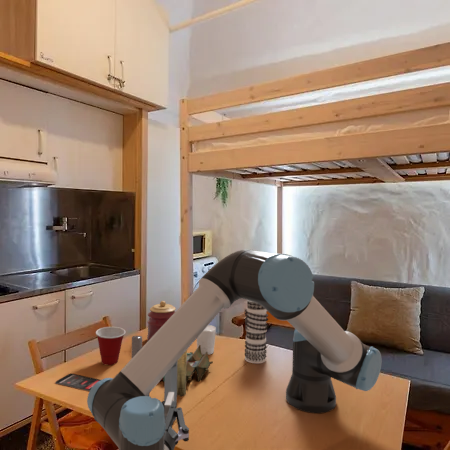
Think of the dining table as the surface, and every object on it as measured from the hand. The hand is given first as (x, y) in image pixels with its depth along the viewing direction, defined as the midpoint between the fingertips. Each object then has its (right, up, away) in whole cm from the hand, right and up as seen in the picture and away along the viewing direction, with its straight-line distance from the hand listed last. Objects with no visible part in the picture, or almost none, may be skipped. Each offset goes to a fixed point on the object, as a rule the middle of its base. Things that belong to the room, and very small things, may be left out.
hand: (171, 397), depth 98 cm
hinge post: (-12, -8, +13) cm, 20 cm away
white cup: (+6, -7, +55) cm, 56 cm away
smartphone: (-34, -8, +26) cm, 43 cm away
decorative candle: (+26, -8, +49) cm, 56 cm away
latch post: (0, -8, +20) cm, 22 cm away
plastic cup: (-29, -7, +43) cm, 52 cm away
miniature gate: (-6, -8, +37) cm, 39 cm away
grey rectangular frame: (-5, -9, +8) cm, 13 cm away
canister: (-14, -6, +67) cm, 69 cm away
